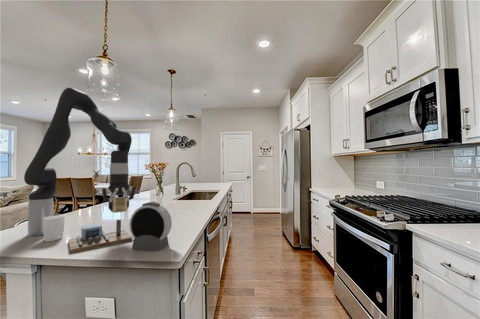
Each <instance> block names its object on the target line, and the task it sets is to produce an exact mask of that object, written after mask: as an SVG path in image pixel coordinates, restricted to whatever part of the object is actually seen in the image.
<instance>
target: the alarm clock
mask: <svg viewBox="0 0 480 319" xmlns="http://www.w3.org/2000/svg"><path fill="white" fill-rule="evenodd" d="M172 223H173V221H172V217H171V214H170V212H169V210H168V209H167V208H166V207H165V206H163V205H161V204H160V203H159V202H156V201H149V202H146V203H143V204H141V206H139V207H138V208H136V209H135V210H134V212H133V213H132V214H131V216H130V219H129V231H130V233H131V237H132V238H133V239H132V248H131V249H132V250H133V251H136V252H137V251H139V252H160V251H162V250H163V249H164V248H166V247H167V246H169V240H168V239H169V238H168V235H169V234H170V232H171V229H172Z"/></svg>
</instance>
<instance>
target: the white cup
mask: <svg viewBox="0 0 480 319" xmlns="http://www.w3.org/2000/svg"><path fill="white" fill-rule="evenodd" d="M65 216H66V215H64V214H61V215H60V214H59V215H57V214H56V215H53V216H49V217H44V218H43V235H42V236H43V241H44V242H53V241H58V240H62V239H63V238H64V231H65V219H66V218H65Z"/></svg>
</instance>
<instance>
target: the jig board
mask: <svg viewBox="0 0 480 319" xmlns="http://www.w3.org/2000/svg"><path fill="white" fill-rule="evenodd" d="M115 230H116V231H111V232H106V233H105V232H104V231H102V238H100V237H99V236H98V235H96V236H90V237H85V241H82V238H81V236H80V235H77V236H76V237H74V238H70V239H68V241H67V242H68V243H67V244H68V249H69V254H74V253H78V252H84V251H89V250H93V249H94V250H95V249H99V248H103V247H109V246H113V245H118V244H123V243H128V242H133V236H132V235H130V234H129V233H128V232H127V231H126V230H125V229H123V230H122V219H116V229H115Z"/></svg>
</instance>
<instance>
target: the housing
mask: <svg viewBox="0 0 480 319" xmlns="http://www.w3.org/2000/svg"><path fill="white" fill-rule="evenodd" d="M80 230H81V234H80V235H81V236H80V238H82V241H85V237H90V236H96V235H98V236H99V237H100V238H102V232H103V226H102V224H101V223H95V224H94V223H93V224H88V225H82V226H81V229H80Z"/></svg>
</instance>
